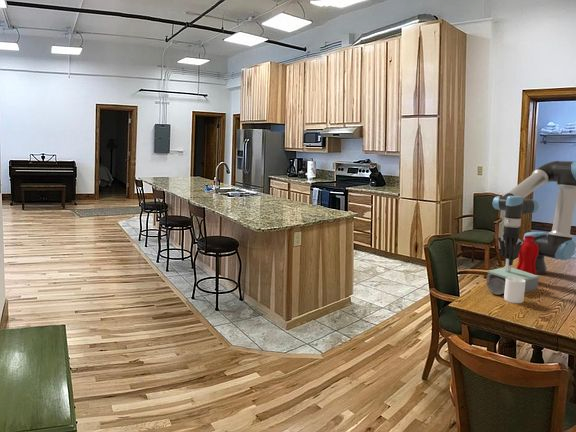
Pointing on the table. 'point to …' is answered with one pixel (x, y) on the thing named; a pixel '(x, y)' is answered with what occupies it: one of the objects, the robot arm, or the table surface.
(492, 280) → the mug
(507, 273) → the lid
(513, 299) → the cup
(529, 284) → the grey long flat pieces
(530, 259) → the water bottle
